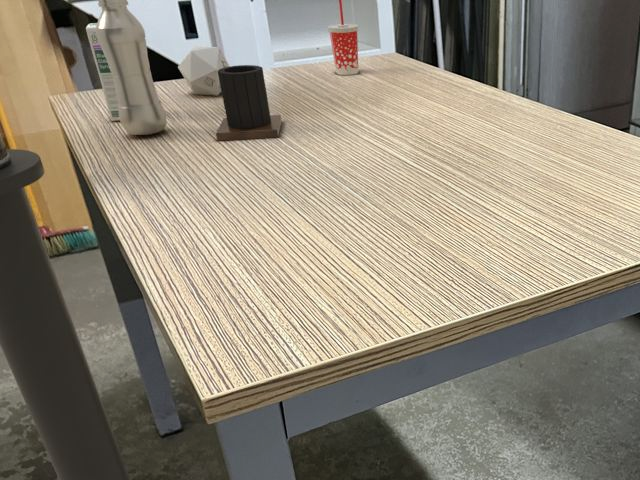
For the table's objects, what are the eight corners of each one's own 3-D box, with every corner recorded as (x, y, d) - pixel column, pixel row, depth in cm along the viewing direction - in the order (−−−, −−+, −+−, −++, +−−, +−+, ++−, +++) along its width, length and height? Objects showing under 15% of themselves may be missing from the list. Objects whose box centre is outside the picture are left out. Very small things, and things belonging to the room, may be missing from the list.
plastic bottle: (177, 132, 111) (144, -10, 100) (136, 142, 107) (96, -5, 96) (157, 125, 114) (123, -13, 104) (116, 134, 110) (76, -8, 99)
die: (195, 105, 129) (221, 56, 125) (161, 75, 130) (186, 27, 127) (225, 111, 137) (249, 66, 133) (192, 83, 138) (216, 38, 134)
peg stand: (217, 141, 107) (206, 84, 102) (224, 125, 114) (214, 71, 110) (278, 137, 108) (269, 81, 103) (281, 122, 115) (273, 69, 111)
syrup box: (110, 122, 117) (83, 26, 109) (116, 113, 122) (91, 21, 114) (147, 119, 118) (123, 24, 110) (151, 111, 123) (129, 19, 115)
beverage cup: (366, 73, 147) (360, -2, 139) (339, 77, 144) (331, 1, 137) (355, 68, 151) (348, -4, 144) (328, 71, 149) (320, -2, 141)
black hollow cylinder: (226, 130, 107) (215, 74, 103) (231, 119, 113) (221, 66, 108) (269, 127, 108) (260, 72, 104) (272, 116, 113) (263, 64, 109)
